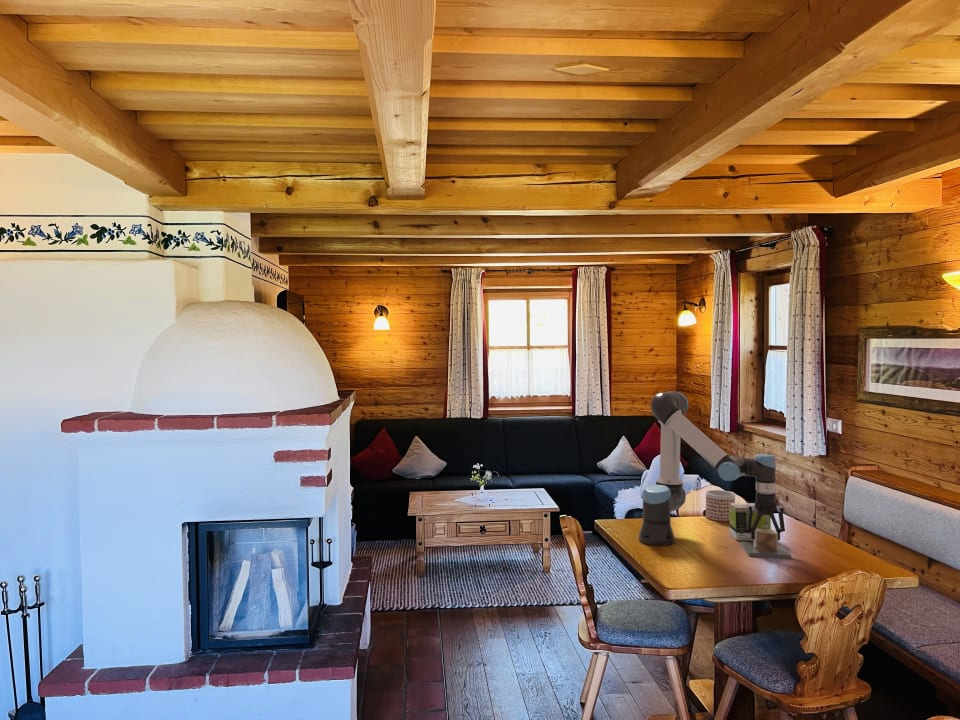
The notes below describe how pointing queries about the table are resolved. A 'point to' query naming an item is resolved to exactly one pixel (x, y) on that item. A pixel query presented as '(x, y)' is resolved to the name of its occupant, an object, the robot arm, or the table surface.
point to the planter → (719, 505)
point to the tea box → (745, 521)
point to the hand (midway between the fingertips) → (765, 547)
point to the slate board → (755, 552)
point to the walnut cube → (766, 540)
